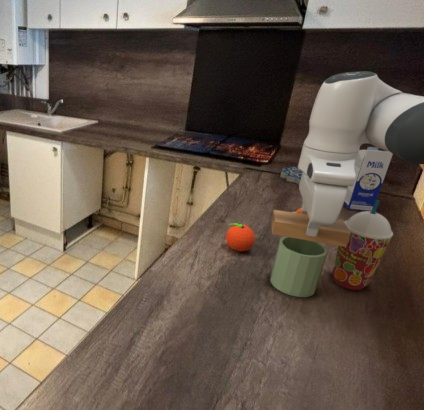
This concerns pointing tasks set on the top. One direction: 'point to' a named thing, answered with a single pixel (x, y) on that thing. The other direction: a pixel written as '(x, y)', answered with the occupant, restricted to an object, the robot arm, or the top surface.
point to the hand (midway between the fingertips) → (307, 226)
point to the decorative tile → (292, 174)
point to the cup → (298, 266)
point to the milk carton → (367, 178)
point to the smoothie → (362, 249)
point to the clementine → (240, 237)
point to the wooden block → (296, 227)
